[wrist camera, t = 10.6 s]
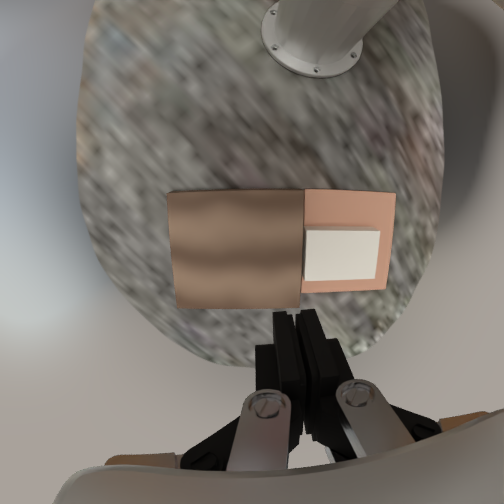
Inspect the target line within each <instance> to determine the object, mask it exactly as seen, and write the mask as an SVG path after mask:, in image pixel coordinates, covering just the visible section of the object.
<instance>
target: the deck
mask: <svg viewBox="0 0 504 504" xmlns="http://www.w3.org/2000/svg"><path fill="white" fill-rule="evenodd" d="M167 208H168V223H169V236H170V248H171V258H172V268H173V277H174V286H175V294H176V302H177V308H191V309H268V308H299V305H300V288H301V270H302V247H303V215H304V190H302V189H215V190H190V191H172V192H169V193H167Z"/></svg>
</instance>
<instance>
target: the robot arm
mask: <svg viewBox="0 0 504 504" xmlns="http://www.w3.org/2000/svg"><path fill="white" fill-rule="evenodd" d="M398 1H399V0H279V1H278V2H277V3H275V4H274V5H273V6H271V7H270V8H269V9H268V11H267V12H266V14H265V15H264V18H263V20H262V26H261V36H262V40H263V44H264V45H265V47H266V49H267V51H268V52H269V54H270V55H271V56H272V57H273V58H274V59H275V60H276V61H277V62H278V63H279V64H280V65H282V66H284V67H285V68H287V69H288V70H290V71H293V72H295V73H297V74H300V75H303V76H307V77H314V78H329V77H334V76H338V75H340V74H342V73H345V72H346V71H347V70H349V69H350V68H351V67H352V66H353V65H355V64H356V62H357V61H358V60H359V58H360V55H361V53H362V48H363V40H362V37H363V36H364V35H365V34H366V33H367V32H368V31H369V30H370V29H371V28H372V27H373V26H374V25H375V24H376V23H377V22H378V21H379V20H380V19H381V18H382V17H383V16H384V15H385V14H386V13H387V12H388V11H389V10H390V9H391V8H392V7H393V6H394V5H395V4H396V3H397V2H398ZM492 1H493V2H494V3H496V4H497V5H498V6H499V7H500V8H502V9H503V10H504V0H492ZM272 14H274V15H272ZM273 49H276V51H275V50H273ZM351 56H352V57H353V58H352V57H351ZM314 70H316V71H317V73H315V72H314ZM273 340H274V344H266V345H255V364H256V391H255V392H254V393H252V394H250V395H249V396H248V397H247V398H246V399H245V401H244V403H243V407H242V411H241V415H240V416H239V417H237V418H236V419H235V420H233V421H232V422H230V423H229V424H227V425H226V426H225V427H223V428H222V429H220V430H219V431H217V432H216V433H214V434H213V435H211V436H210V437H208V438H207V439H205V440H203V441H202V442H201V443H199V444H197V445H196V446H194V447H192V448H191V449H189V450H188V451H187V452H186V453H184V454H182V455H175V453H160V454H141V455H116V456H113V457H112V458H109V459H108V460H107V462H106V463H105V465H104V466H97V467H91V468H87V469H83V470H80V471H78V472H76V473H75V474H73V475H72V476H71V477H70V478H69V479H68V480H67V481H66V482H65V484H64V485H63V486H62V488H61V490H60V491H59V493H58V494H57V496H56V498H55V500H54V503H53V504H504V409H500V410H496V411H494V412H491V413H488V412H485V411H481V412H475V413H470V414H466V415H460V416H455V417H449V418H443V419H439V421H438V422H435V421H434V420H432V419H430V418H427V417H424V416H421V415H418V414H415V413H412V412H410V411H406V410H404V409H401V408H399V407H396V406H393V405H391V404H389V403H388V402H387V401H386V399H385V397H384V396H383V395H382V394H381V392H380V390H379V389H378V388H377V387H376V386H375V385H374V384H373V383H371V382H369V381H366V380H362V379H354V377H353V374H352V372H351V369H350V367H349V365H348V362H347V360H346V357H345V355H344V353H343V350H342V348H341V346H340V343H339V341H338V339H337V338H333V339H326V337H325V334H324V332H323V329H322V326H321V324H320V321H319V319H318V316H317V313H316V311H315V309H307V310H301V312H300V314H296V322H295V325H294V321H293V317H292V314H289V315H287V312H286V311H281V312H273ZM303 421H304V425H305V431H306V434H312V440H313V441H317V442H319V443H321V444H322V445H324V446H325V451H326V454H327V456H328V459H329V461H330V463H331V464H325V465H319V466H311V467H303V468H294V469H288V459H289V453H290V452H291V451H292V450H293V449H294V448H295V447H296V446H297V445H298V444H299V438H300V435H302V432H303Z"/></svg>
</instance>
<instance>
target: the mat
mask: <svg viewBox="0 0 504 504" xmlns="http://www.w3.org/2000/svg"><path fill="white" fill-rule="evenodd" d="M395 201H396V193H388V192H372V191H353V190H328V189H304V226H362V227H374V228H376V229H378V230H379V231H380V239H379V249H378V257H377V265H376V273H375V279H355V280H326V281H304V279H303V277H302V276H301V293H314V292H339V291H360V290H378V289H385V288H386V282H387V276H388V269H389V262H390V254H391V246H392V237H393V227H394V215H395Z"/></svg>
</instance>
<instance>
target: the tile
mask: <svg viewBox="0 0 504 504" xmlns="http://www.w3.org/2000/svg"><path fill="white" fill-rule="evenodd" d="M379 239H380V231H379V230H378V229H376V228H374V227H362V226H303V247H302V270H301V274H302V277H303V279H304V281H326V280H355V279H375V273H376V265H377V257H378V249H379Z"/></svg>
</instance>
